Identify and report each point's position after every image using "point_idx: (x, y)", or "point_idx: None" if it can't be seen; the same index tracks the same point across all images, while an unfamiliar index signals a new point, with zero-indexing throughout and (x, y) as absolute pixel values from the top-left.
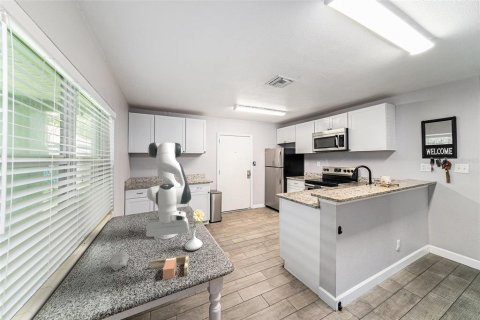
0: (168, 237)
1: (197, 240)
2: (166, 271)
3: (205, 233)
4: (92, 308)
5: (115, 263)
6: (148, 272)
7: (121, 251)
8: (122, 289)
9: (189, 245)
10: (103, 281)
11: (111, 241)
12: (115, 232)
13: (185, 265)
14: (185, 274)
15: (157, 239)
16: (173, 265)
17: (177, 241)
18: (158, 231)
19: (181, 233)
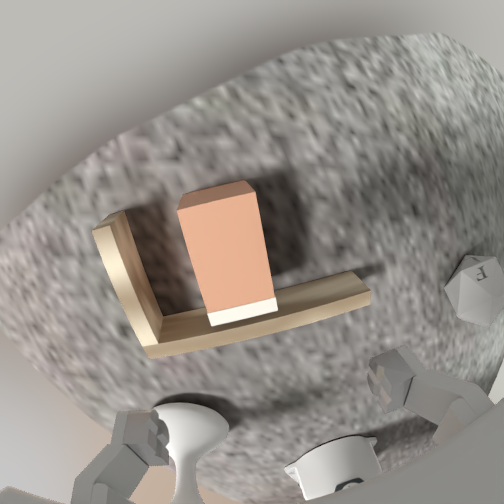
0: (324, 448)
1: None
2: (228, 194)
3: None
4: (451, 59)
5: (489, 262)
6: (351, 244)
7: (492, 319)
8: (415, 132)
9: (193, 424)
10: (480, 197)
11: (475, 381)
12: None
13: (115, 257)
14: (115, 214)
15: (430, 388)
16: (192, 243)
17: (141, 411)
18: (493, 491)
19: (71, 501)
